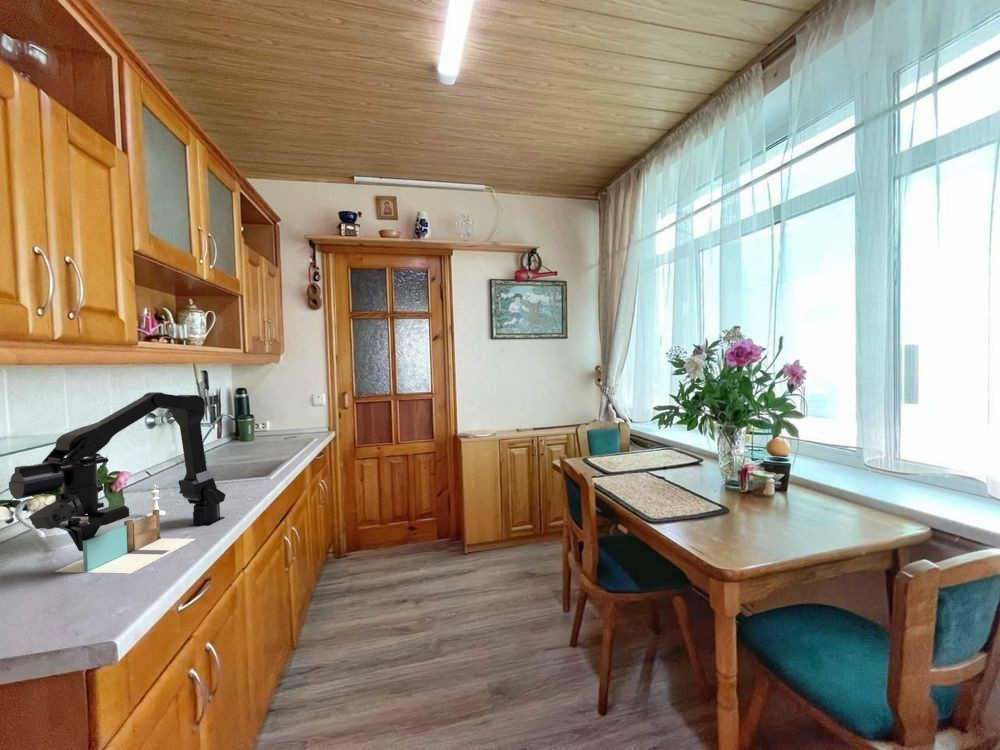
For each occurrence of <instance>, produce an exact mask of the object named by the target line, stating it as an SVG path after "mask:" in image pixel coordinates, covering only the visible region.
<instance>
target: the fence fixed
mask: <svg viewBox="0 0 1000 750" xmlns="http://www.w3.org/2000/svg"><path fill="white" fill-rule="evenodd" d="M159 509H160V508H159ZM159 509H157V510H153V515H150V516H148V517H146V516H145V517H144V518H143V517H142V518H141V519H138V520H135V521H133V520H134V519H128V520H125V521H123V525H126V530H127V553H130V552H133V551H134V550H136V549H138V548H140V547H142V546H144V545H146V544H149V543H151V542H153V541H155V540H157V539H160V538H161V523H160V522H161V519H160V516H161V515H159Z"/></svg>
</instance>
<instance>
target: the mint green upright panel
mask: <svg viewBox="0 0 1000 750" xmlns="http://www.w3.org/2000/svg"><path fill="white" fill-rule="evenodd" d="M82 553H83V554H82V555H83V556H82V559H83V560H84V571H89V570H91V569H93V568H95V567H98V566H100V565H102V564H104V563H106V562H108V561H110V560H113V559H115V558H117V557H119V556H121V555H123V554H125V553H127V530H126V525H124V524H123V525H120V526H118V527H114V528H113V529H110V530H107V531H104V532H102V533H100V534H98V535H97V534H96V535H95V536H94V537H92V538H89V539H87V540H84V541H83V551H82Z"/></svg>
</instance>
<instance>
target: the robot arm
mask: <svg viewBox="0 0 1000 750" xmlns="http://www.w3.org/2000/svg"><path fill="white" fill-rule="evenodd" d="M159 408H160V409H165V410H169V411H170V415H171V416H172V418H173V419H174V421H175V422H176V424H177V425H178V426H179V429H180V437H181V444H182V451H183V457H184V459H183V460H184V465H185V472H186V473H185V475H184V478H182V479H179V480H178V485H179V494H181V495H182V497H183V498H184V499H186V500H187V501H188V503H189V504H191V505H192V504H194V505H193V511H192V522H191V523H190V524H188V525H189V526H192V527H194V526H195V527H196V526H197V527H206V526H207V527H209V526H211V525H214V524H215V523H217V522H220V521H221V520H223V519H225V516H221V508H220V507H221V506H220V503H223V502H224V501H225V498H226V495H227V494H226V493H224V491H223V492H222V490H220V489H218V487H217V485H216V481H215V478H214V477H213V475H212V474H211V473H210V471H209V470H208V467H207V461H206V453H205V447H204V446H205V445H204V439H203V433H202V424H201V423H202V421H203V420H204V419H203V418H204V417H205V413H206V401H205V399H204V398H203V397H201V396H200V395H197V394H178V395H176V394H167V393H164V392H161V391H159V392H158V391H152V392H147V393H145V394H144V395H142V396H141V397H139V398H138V399H135V400H134V401H133V402H130V403H129V404H127V405H126V406H123V407H121V408H120V409H118V410H117V411H114V412H113V413H111V414H110V415H107V416H106V417H105V418H103V419H101V420H99V421H97V422H94V423H91V424H88V425H84V426H81V427H79V428H76V429H74V430H70V431H68V432H65V433H63V434H62V435H60V436H59V437H58V438H57V439H56V443H55V446H54V448H52V450H51V451H50V452H49V453H48V455H47V456H46V457H45V458H44V459H43V460H42V462H41V463H37V464H29V465H20V466H15V467H14V473H12V475H11V477H10V481H8V490H9V493H10V495H11V496H12V498H13V499H15V500H21V499H25V498H30V497H35V496H39V495H43V494H49V493H52V492H56V491H58V489H59V488H62V489H61V490H62V491H61V492H57V493H56V495H55V501H54V502H52V503H50V504H47V505H45V506H43V507H42V508H40V509H38V510H37V511H35V512H33V513H32V514H30V515H29V517H28V518H29V520H30V521H31V525H33V527H34V529H36V530H40V529H46V530H52V529H55V528H56V529H60V530H63V531H65V532H67V533H68V535H69V536H70V538H71V539H72V542H73V543H74V545H75V546H76V548H77V550H78V552H83V541H84V540H87V539H89V538H92V537H94V536H96V535H97V532H98V531H99V529H100V528H101V527H103V526H107V525H110V524H112V523H115V522H118V521H121V520H123V519H125V518H128V517H130V507H128V506H127V505H114V504H113V505H109V506H106V507H105V504H104V502H99V492H101V491H104V485H99V480H98V464H103V463H108V462H109V458H106V457H104V456H102V455H101V453H99V452H100V451H101V450H102V449H103V448H105V446H107V445H108V444H109V443H110V441H111V440H112V438H113V437H114V436H115V435H117V434H118V433H119V432H121V431H123V430H124V429H126V428H128V427H129V426H131V425H133V424H134V423H135V422H138V421H139V420H140V419H142V418H144V417H146V416H148V415H150V413H152V412H154V411H156V410H157V409H159ZM100 508H101V509H100Z"/></svg>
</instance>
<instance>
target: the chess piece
mask: <svg viewBox="0 0 1000 750" xmlns="http://www.w3.org/2000/svg"><path fill="white" fill-rule="evenodd" d="M158 488H159V486H157V485H156V484H153V486H152V487H151V488H150V489H152V490H151V491H150V493H151V496H152V498H151V499H150V500H151V501H153V502H152V507H151V508H152V509H151V511H150V512H149V513H146V514H145V517H148V516H150V515H153V510H157V509H159V515H160V516H163V515H164V516H165V515H166V511H165V510H161V509H160V508H159V503H158V500H159V499H160V497H159V492H160V490H159V489H158Z"/></svg>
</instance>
